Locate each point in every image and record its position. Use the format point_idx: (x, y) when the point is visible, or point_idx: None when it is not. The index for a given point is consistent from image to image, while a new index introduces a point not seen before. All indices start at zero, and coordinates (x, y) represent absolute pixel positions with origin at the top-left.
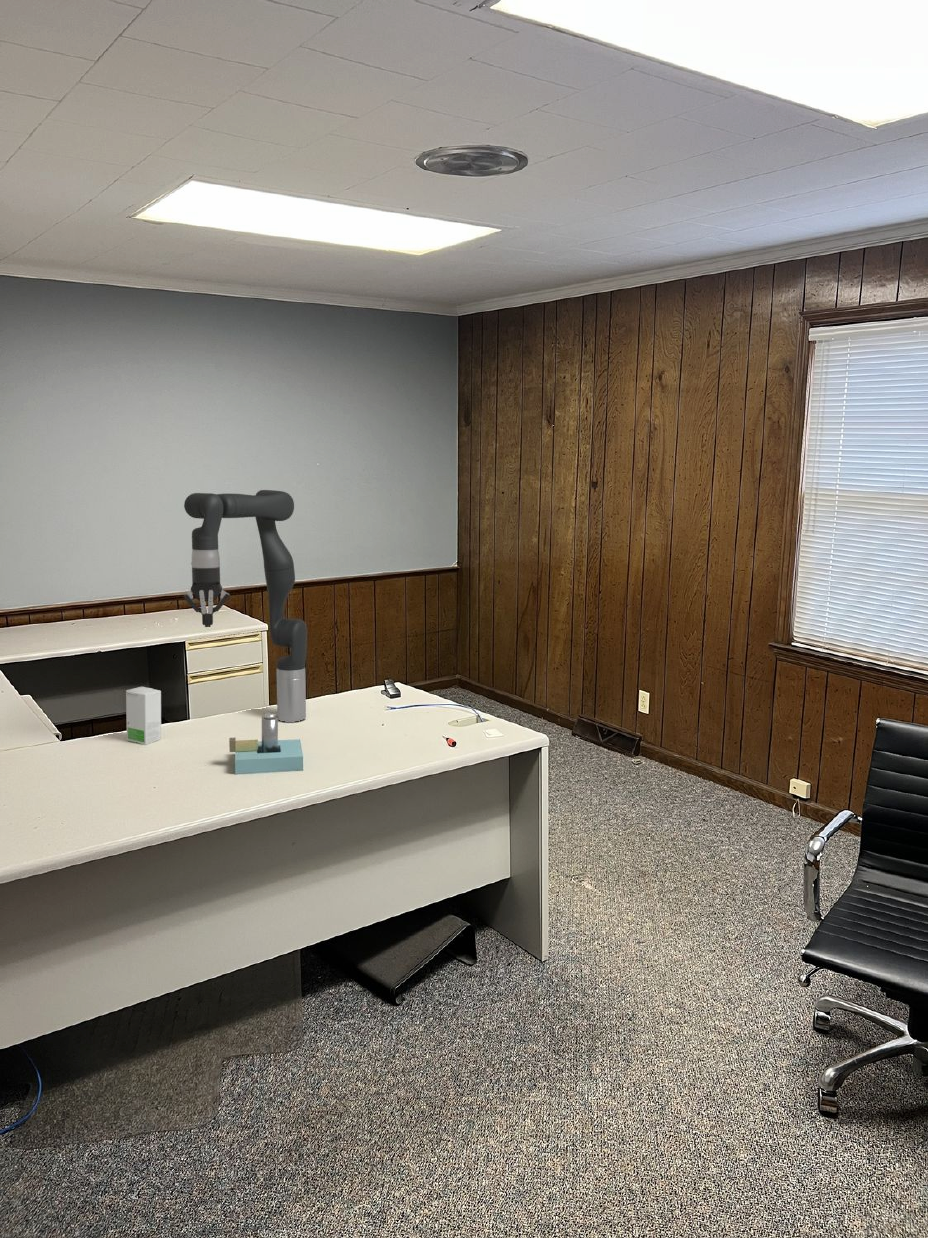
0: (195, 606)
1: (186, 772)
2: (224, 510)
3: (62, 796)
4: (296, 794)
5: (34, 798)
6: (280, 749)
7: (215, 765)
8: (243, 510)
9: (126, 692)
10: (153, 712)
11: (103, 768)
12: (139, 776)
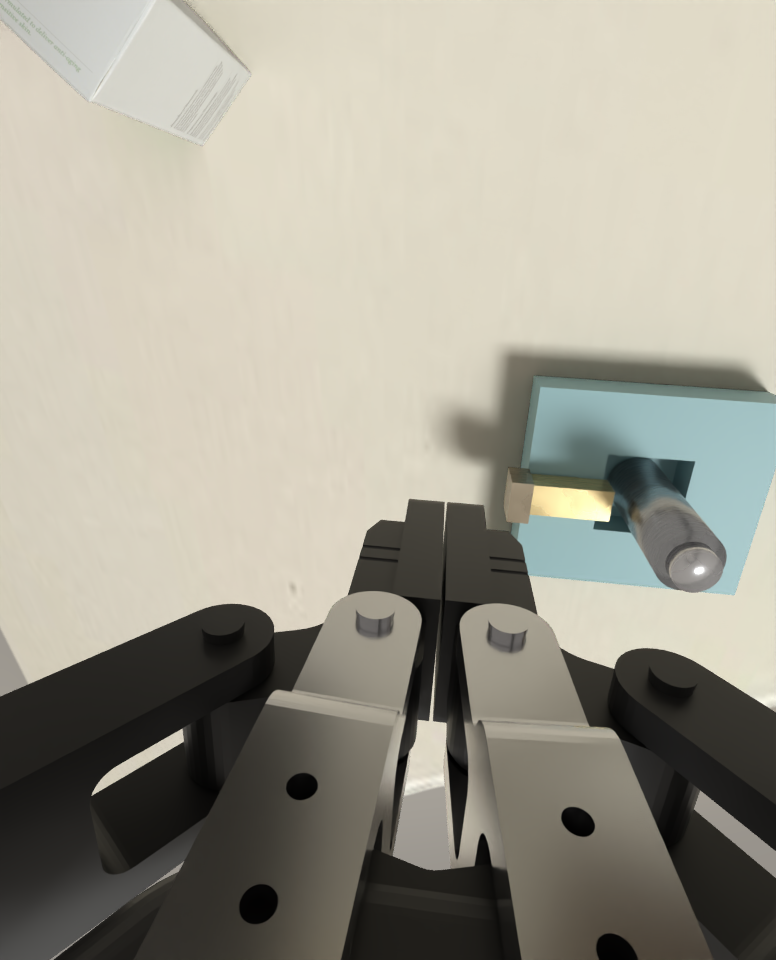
0: (170, 837)
1: (368, 496)
2: None
3: (84, 588)
4: None
5: (25, 583)
6: (685, 490)
7: (456, 455)
8: None
9: None
10: (175, 81)
11: (121, 398)
12: (240, 495)
